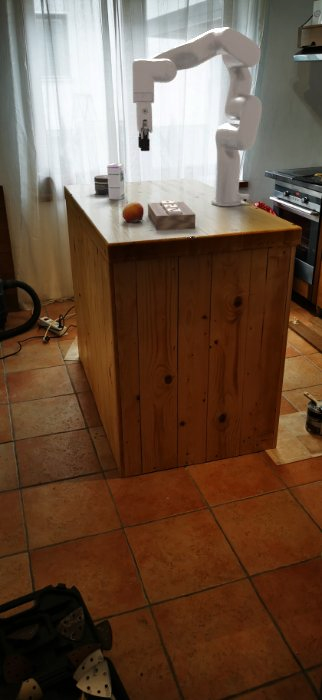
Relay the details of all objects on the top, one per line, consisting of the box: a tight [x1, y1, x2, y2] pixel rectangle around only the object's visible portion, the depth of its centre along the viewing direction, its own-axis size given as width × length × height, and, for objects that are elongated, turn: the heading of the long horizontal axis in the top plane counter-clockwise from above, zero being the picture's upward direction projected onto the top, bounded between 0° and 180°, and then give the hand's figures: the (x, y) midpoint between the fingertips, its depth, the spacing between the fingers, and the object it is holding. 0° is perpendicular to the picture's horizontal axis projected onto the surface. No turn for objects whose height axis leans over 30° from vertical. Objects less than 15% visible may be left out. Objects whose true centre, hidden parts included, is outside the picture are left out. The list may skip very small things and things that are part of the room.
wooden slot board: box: [147, 201, 196, 231], centre depth 208 cm, size 14×22×5 cm, turn 9°
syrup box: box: [106, 162, 125, 200], centre depth 246 cm, size 6×6×14 cm
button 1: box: [160, 200, 175, 206], centre depth 213 cm, size 4×4×2 cm
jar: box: [93, 174, 109, 196], centre depth 257 cm, size 10×10×8 cm
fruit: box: [122, 202, 145, 223], centre depth 209 cm, size 8×8×8 cm
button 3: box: [167, 208, 181, 215], centre depth 200 cm, size 4×4×2 cm
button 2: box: [164, 204, 178, 210], centre depth 206 cm, size 4×4×2 cm
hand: (143, 149), depth 206 cm, fingers open, 9 cm apart
